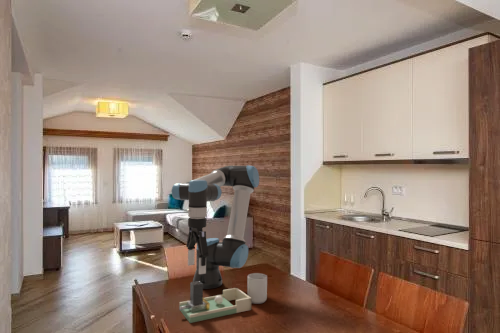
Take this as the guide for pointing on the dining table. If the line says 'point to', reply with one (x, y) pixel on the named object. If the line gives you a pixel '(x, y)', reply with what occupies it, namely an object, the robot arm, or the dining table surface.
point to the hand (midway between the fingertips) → (196, 269)
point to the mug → (257, 288)
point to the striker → (196, 298)
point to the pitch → (220, 306)
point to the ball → (218, 300)
